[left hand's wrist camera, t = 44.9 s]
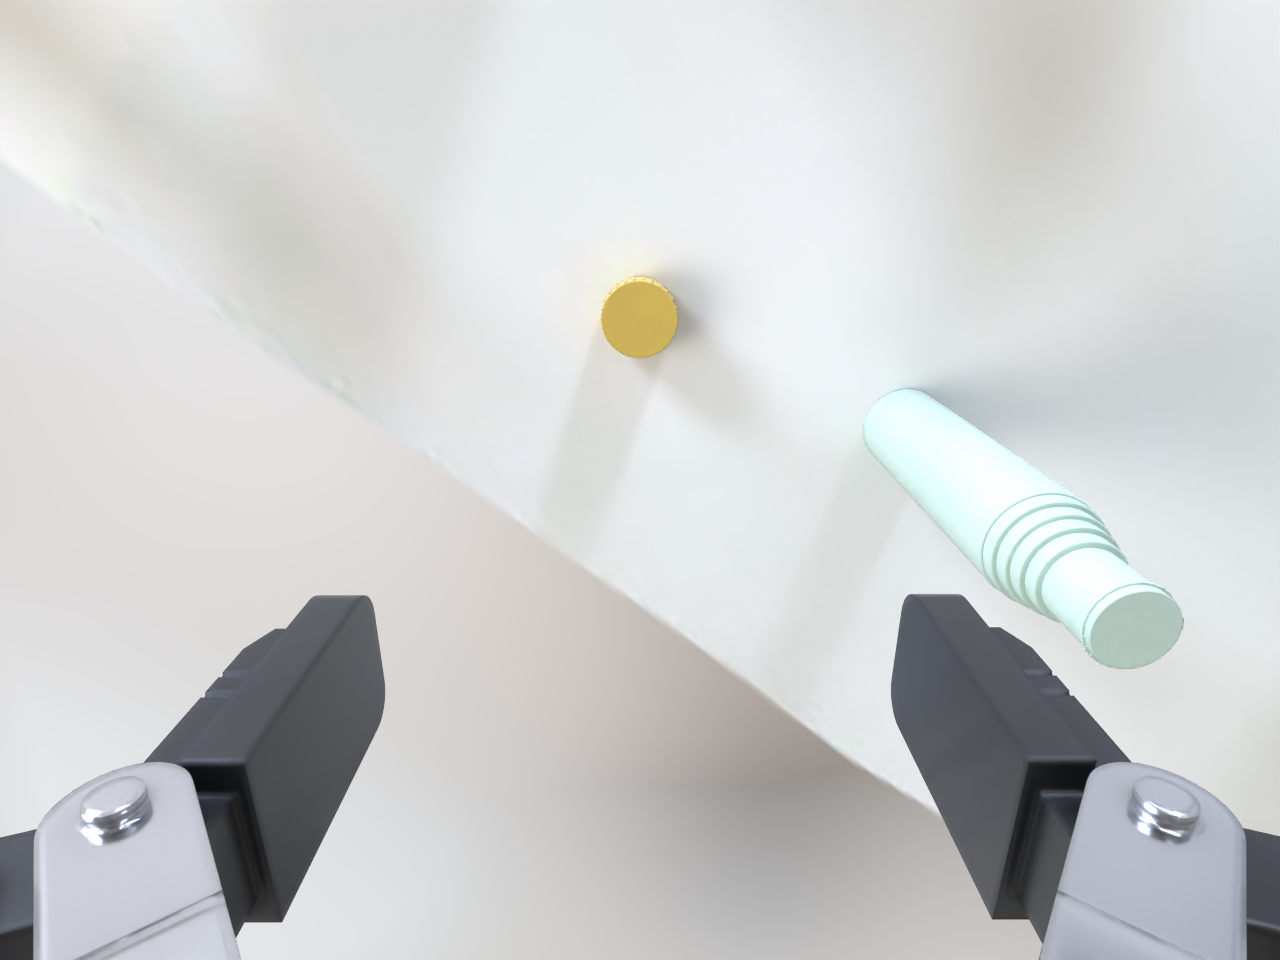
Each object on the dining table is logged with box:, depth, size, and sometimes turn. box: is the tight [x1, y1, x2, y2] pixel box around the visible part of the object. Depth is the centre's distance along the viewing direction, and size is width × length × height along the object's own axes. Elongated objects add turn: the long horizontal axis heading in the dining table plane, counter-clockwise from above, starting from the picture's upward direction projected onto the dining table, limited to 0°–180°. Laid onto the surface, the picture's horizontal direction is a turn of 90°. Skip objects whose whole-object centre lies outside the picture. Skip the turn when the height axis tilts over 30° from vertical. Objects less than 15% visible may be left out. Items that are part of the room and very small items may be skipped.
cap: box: [601, 276, 678, 358], centre depth 43 cm, size 4×4×2 cm
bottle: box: [864, 389, 1184, 669], centre depth 35 cm, size 5×5×23 cm
